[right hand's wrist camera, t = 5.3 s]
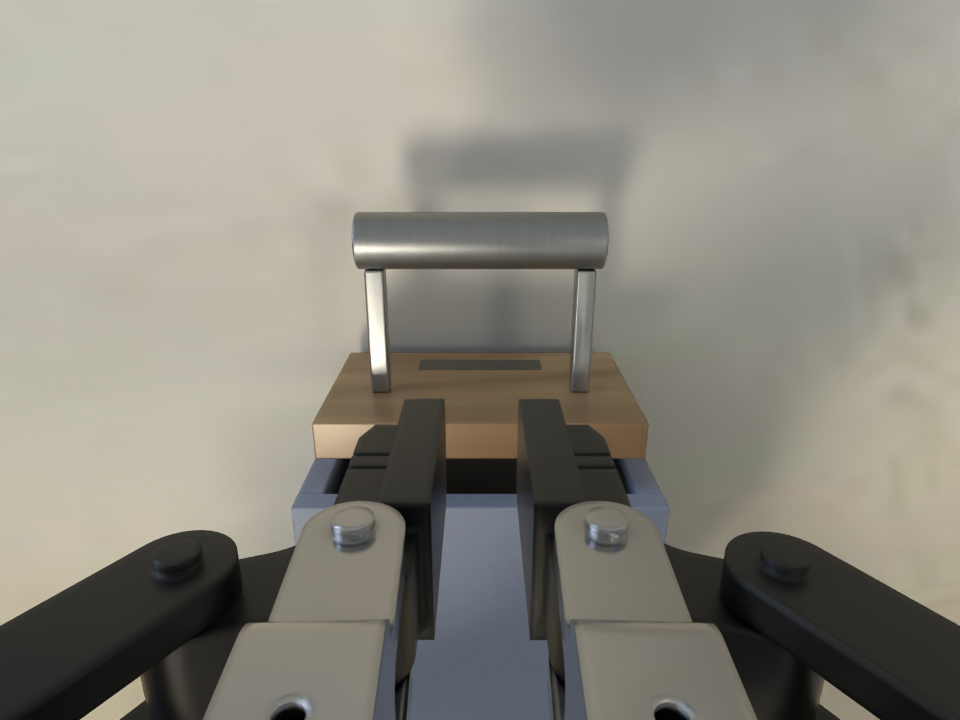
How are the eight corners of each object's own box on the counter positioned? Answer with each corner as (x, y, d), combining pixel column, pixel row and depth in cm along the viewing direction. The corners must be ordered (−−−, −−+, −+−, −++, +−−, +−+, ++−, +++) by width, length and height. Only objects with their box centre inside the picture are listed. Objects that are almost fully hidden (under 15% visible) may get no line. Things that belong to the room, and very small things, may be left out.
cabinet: (343, 398, 27) (290, 508, 19) (616, 398, 27) (670, 507, 19) (364, 659, 32) (327, 829, 24) (596, 659, 32) (633, 829, 24)
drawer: (339, 198, 23) (291, 225, 17) (621, 198, 23) (668, 225, 17) (369, 615, 29) (342, 738, 24) (591, 615, 29) (618, 738, 24)
